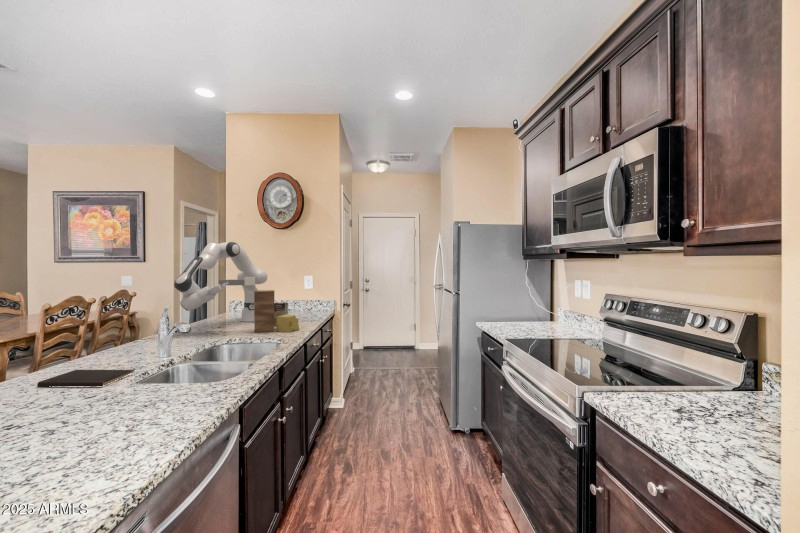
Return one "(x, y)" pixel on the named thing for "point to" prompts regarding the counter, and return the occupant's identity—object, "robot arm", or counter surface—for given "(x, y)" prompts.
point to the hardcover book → (85, 378)
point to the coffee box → (280, 310)
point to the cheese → (287, 323)
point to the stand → (263, 311)
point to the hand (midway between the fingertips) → (229, 282)
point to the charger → (240, 281)
